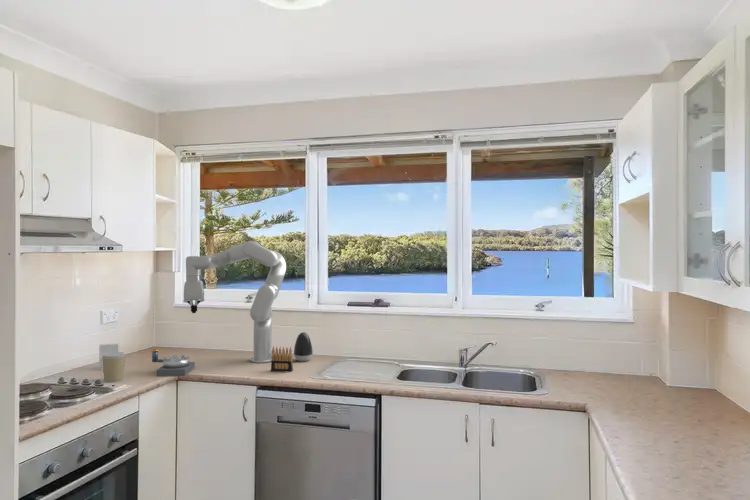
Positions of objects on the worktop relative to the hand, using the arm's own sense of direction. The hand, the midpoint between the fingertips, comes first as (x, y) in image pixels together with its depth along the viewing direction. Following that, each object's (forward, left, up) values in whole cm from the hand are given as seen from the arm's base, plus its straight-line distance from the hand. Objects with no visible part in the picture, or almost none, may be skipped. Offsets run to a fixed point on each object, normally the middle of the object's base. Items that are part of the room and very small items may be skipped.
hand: (194, 312), depth 265 cm
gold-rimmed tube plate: (+5, +24, -23) cm, 33 cm away
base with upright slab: (+38, +13, -26) cm, 48 cm away
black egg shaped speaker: (-59, +3, -26) cm, 64 cm away
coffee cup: (+25, +38, -26) cm, 53 cm away
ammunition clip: (-50, +26, -26) cm, 62 cm away
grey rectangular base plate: (+2, +24, -26) cm, 35 cm away
